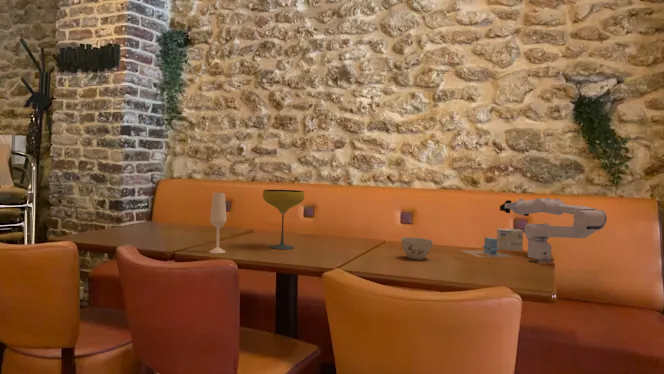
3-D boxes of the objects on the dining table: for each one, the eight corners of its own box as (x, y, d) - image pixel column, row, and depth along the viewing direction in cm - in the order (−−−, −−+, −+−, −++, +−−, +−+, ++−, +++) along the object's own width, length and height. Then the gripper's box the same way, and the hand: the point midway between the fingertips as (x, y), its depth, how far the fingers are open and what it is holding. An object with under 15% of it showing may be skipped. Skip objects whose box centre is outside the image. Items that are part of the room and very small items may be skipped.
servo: (499, 253, 230) (499, 238, 230) (492, 253, 229) (493, 238, 229) (488, 250, 239) (489, 235, 239) (481, 250, 238) (482, 235, 238)
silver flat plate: (513, 260, 224) (513, 256, 224) (477, 260, 220) (478, 256, 220) (491, 253, 240) (492, 250, 240) (459, 253, 237) (459, 250, 237)
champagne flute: (227, 250, 222) (229, 193, 221) (223, 253, 216) (224, 193, 215) (212, 250, 223) (213, 192, 222) (206, 252, 216) (208, 193, 215)
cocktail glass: (256, 245, 241) (257, 189, 240) (293, 243, 248) (295, 189, 247) (268, 251, 224) (270, 191, 223) (308, 250, 232) (310, 192, 231)
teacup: (427, 262, 212) (427, 242, 211) (396, 259, 217) (397, 239, 217) (436, 257, 225) (437, 238, 225) (407, 254, 231) (408, 235, 230)
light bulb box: (519, 252, 248) (520, 228, 247) (522, 254, 241) (524, 230, 241) (495, 250, 249) (496, 227, 249) (498, 253, 242) (499, 229, 242)
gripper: (542, 200, 233) (521, 202, 246) (514, 195, 228) (494, 198, 241) (541, 216, 232) (520, 218, 245) (513, 211, 227) (493, 213, 240)
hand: (507, 209), depth 243 cm, fingers open, 7 cm apart
